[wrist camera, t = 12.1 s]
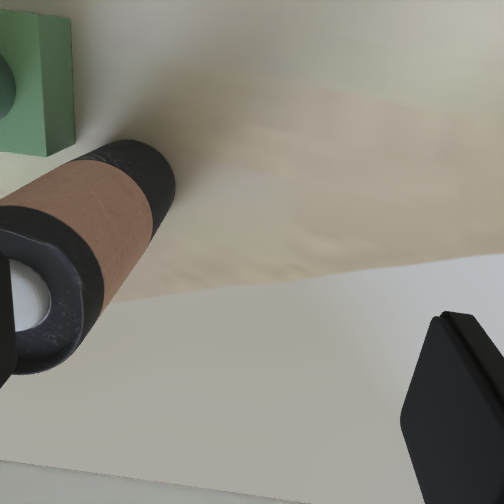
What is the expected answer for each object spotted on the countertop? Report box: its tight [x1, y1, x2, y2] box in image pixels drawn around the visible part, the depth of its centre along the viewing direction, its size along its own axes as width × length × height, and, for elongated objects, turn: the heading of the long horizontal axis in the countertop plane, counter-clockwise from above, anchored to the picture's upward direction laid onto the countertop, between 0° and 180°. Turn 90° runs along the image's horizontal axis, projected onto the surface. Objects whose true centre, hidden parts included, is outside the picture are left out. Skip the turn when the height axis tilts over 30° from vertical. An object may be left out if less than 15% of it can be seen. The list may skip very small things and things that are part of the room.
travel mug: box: [0, 140, 175, 375], centre depth 29 cm, size 8×8×20 cm
